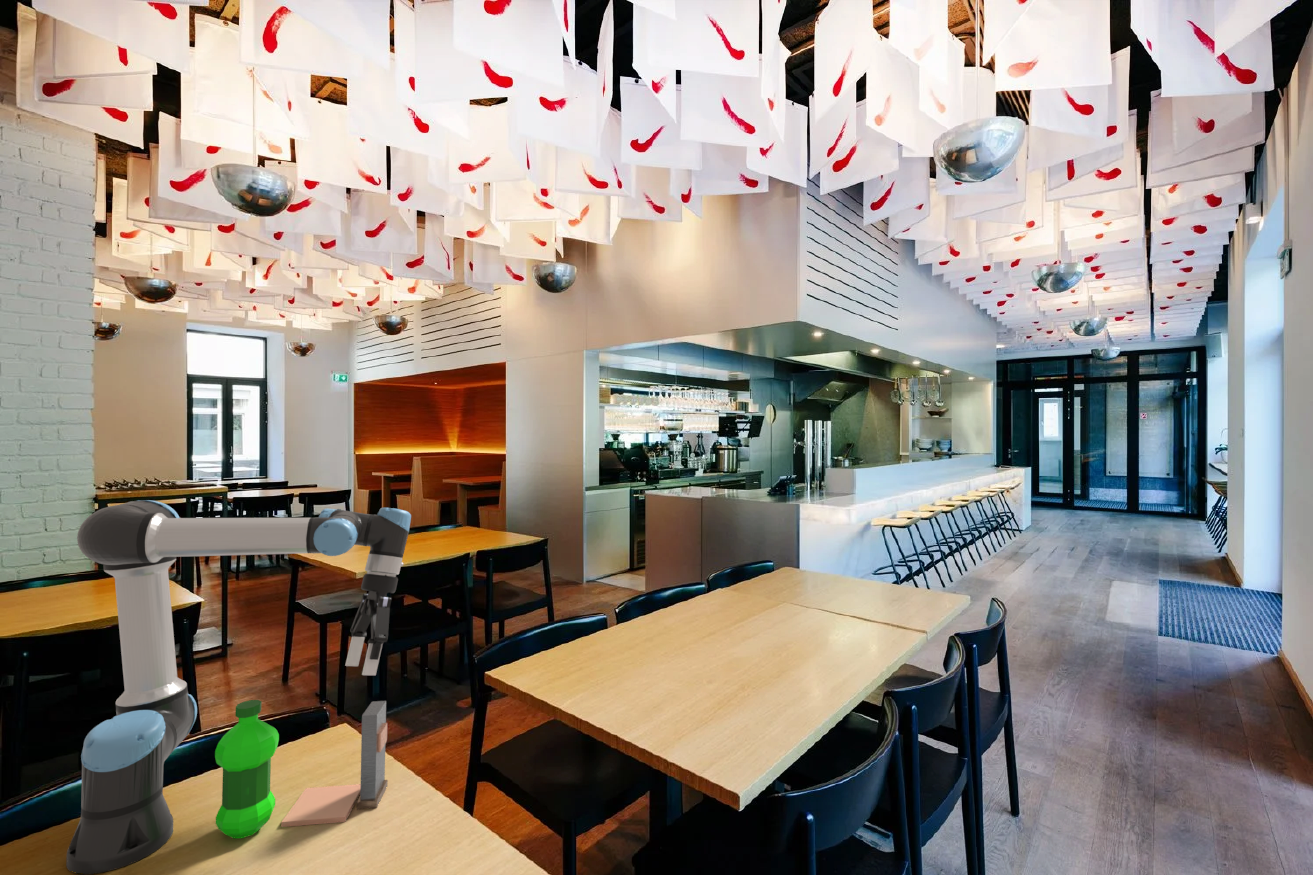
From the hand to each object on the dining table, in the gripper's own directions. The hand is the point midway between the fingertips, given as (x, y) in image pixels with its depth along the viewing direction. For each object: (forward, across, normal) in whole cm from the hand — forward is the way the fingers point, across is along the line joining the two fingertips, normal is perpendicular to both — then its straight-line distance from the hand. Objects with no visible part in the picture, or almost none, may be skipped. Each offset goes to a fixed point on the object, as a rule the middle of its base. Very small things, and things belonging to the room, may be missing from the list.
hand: (359, 670), depth 134 cm
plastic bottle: (+31, +2, +14) cm, 34 cm away
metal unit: (+26, -2, -8) cm, 27 cm away
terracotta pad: (+27, +1, +1) cm, 27 cm away
